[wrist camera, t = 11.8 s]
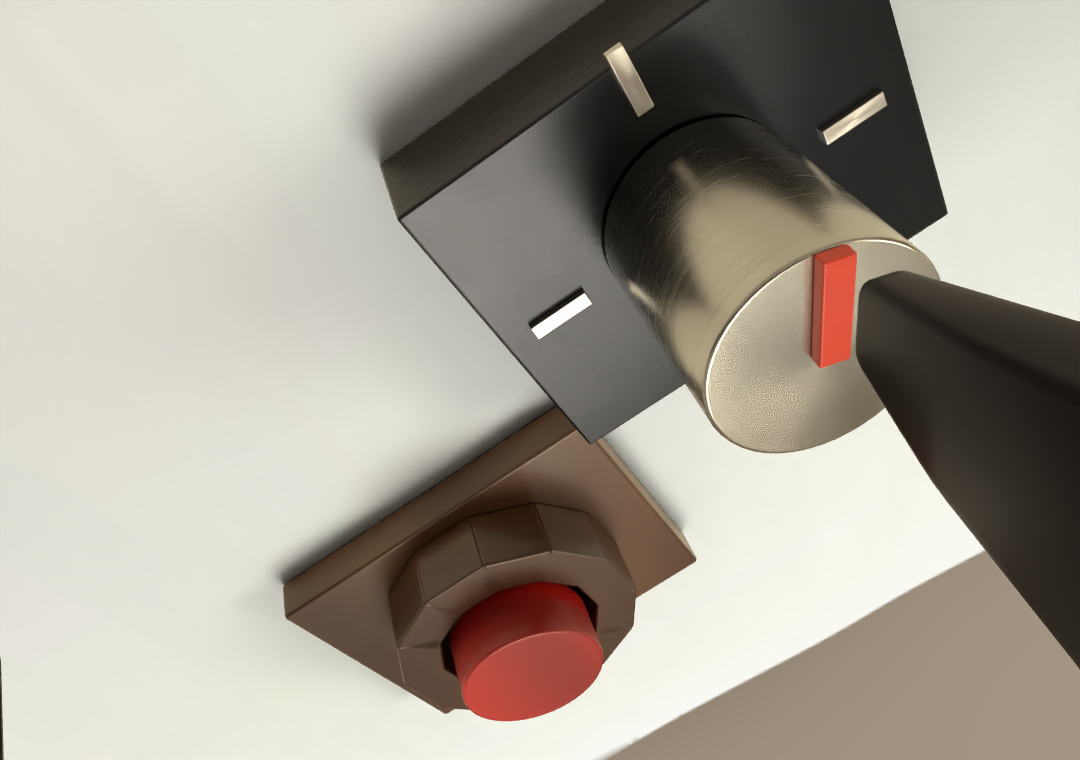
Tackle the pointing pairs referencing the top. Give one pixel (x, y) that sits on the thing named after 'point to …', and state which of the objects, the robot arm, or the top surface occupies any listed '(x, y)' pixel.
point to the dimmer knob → (753, 279)
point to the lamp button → (525, 652)
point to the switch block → (491, 556)
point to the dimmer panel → (619, 141)
